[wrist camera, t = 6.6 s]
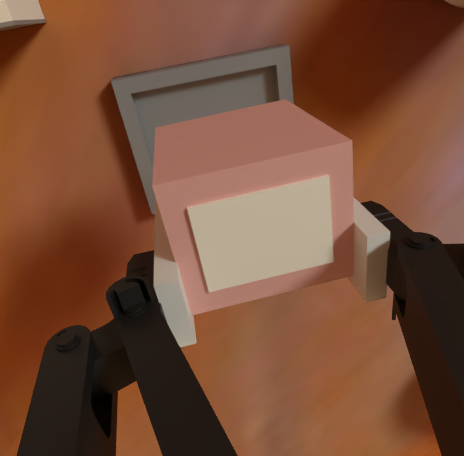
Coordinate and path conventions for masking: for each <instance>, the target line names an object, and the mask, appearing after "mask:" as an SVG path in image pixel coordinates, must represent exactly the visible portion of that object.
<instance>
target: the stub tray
mask: <svg viewBox="0 0 464 456" xmlns="http://www.w3.org/2000/svg"><path fill="white" fill-rule="evenodd" d="M111 83H112V86H113V90H114V93H115V96H116V100H117V103H118V106H119V109H120V113H121V116H122V119H123V122H124V126H125V129H126V132H127V135H128V139H129V142H130V145H131V148H132V152H133V155H134V158H135V161H136V165H137V168H138V171H139V174H140V178H141V181H142V184H143V187H144V191H145V194H146V197H147V200H148V204H149V207H150V210H151V213H152V214H155V193H154V190H153V187H152V181H153V164H154V146H155V128H156V127H160V126H164V125H169V124H174V123H178V122H183V121H187V120H192V119H197V118H201V117H206V116H210V115H215V114H220V113H224V112H229V111H233V110H238V109H243V108H247V107H252V106H256V105H261V104H266V103H270V102H275V101H279V100H284V99H286V100H287V101H289V102H291V103H292V104H294V100H293V87H292V73H291V60H290V47H289V46H288V45H284V44H281V45H276V46H271V47H266V48H261V49H256V50H251V51H246V52H241V53H236V54H231V55H226V56H221V57H216V58H210V59H205V60H200V61H195V62H190V63H185V64H180V65H175V66H170V67H165V68H160V69H155V70H150V71H145V72H139V73H134V74H129V75H124V76H119V77H114V78H113V79H112V80H111Z"/></svg>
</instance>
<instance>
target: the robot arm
mask: <svg viewBox="0 0 464 456" xmlns="http://www.w3.org/2000/svg"><path fill="white" fill-rule="evenodd" d="M353 208H354V275H353V276H349V277H348V279H349V280H350V281H351V283H352V284H353V286H354V287H355V288H356V290H357V291H358V293H359V294H360V295H361V297H362V298H363V300H364V301H365V302H369V301H374V300H378V299H382V298H386V291H387V285H388V286H389V287H390V288H391V289H392V291H393V292H394V296H393V308H392V320H395V319H396V314H397V317H398V320H399V323H400V326H401V329H402V332H403V336H404V339H405V342H406V345H407V348H408V351H409V354H410V358H411V361H412V364H413V367H414V370H415V373H416V376H417V379H418V383H419V386H420V389H421V392H422V395H423V398H424V401H425V405H426V408H427V411H428V414H429V417H430V420H431V423H432V427H433V430H434V433H435V436H436V439H437V442H438V445H439V449H440V452H441V455H442V456H464V244H442V242H441V241H440V240H439V239H438V238H437V237H435V236H433V235H431V234H427V233H422V232H413V231H412V230H411V229H409V228H408V227H407V226H406V225H405V224H404V223H402V222H401V221H400V220H399V219H398V218H396V217H395V216H394V215H393V214H392V213H390V211H388V210H387V209H386V208H385V207H384V206H383V205H380V204H378V203H375V202H373V201H368V202H363V203H359V202H358V201H357V200H356V199H355V198H354V197H353ZM106 299H107V302H108V304H109V306H110V309H111V311H112V313H113V316H114V319H113V320H112V321H110V322H109V323H107V324H106V325H104V326H102V327H100V328H98V329H96V330H93V331H91V332H90V330H89V329H88V328H87V327H85V326H81V325H76V326H70V327H67V328H65V329H63V330H61V331H59V332H58V333H56V334H55V335H54V336H53V337H52V338H51V339H50V340H49V341H48V342H47V344H46V346H45V349H44V352H43V356H42V360H41V364H40V368H39V372H38V376H37V379H36V383H35V387H34V391H33V395H32V399H31V403H30V406H29V410H28V414H27V418H26V422H25V426H24V430H23V433H22V437H21V441H20V445H19V449H18V453H17V456H116V430H117V399H118V390H120V389H122V388H124V387H126V386H128V385H130V384H131V383H133V382H135V381H137V384H138V387H139V389H140V392H141V395H142V398H143V401H144V404H145V407H146V409H147V412H148V415H149V418H150V421H151V424H152V427H153V429H154V432H155V435H156V438H157V441H158V444H159V446H160V449H161V452H162V455H163V456H237V454H236V452H235V450H234V448H233V446H232V444H231V443H230V441H229V439H228V437H227V435H226V433H225V431H224V429H223V427H222V426H221V424H220V422H219V420H218V418H217V416H216V414H215V412H214V410H213V409H212V407H211V405H210V403H209V401H208V399H207V397H206V395H205V394H204V392H203V390H202V388H201V386H200V384H199V382H198V380H197V378H196V377H195V375H194V373H193V371H192V369H191V367H190V365H189V363H188V361H187V360H186V358H185V356H184V354H183V352H182V350H181V348H180V347H183V346H188V345H192V344H196V334H195V326H194V317H193V315H192V314H191V310H190V307H189V303H188V300H187V296H186V293H185V289H184V286H183V282H182V278H181V275H180V271H179V268H178V264H177V262H176V263H175V259H174V256H173V253H172V250H171V246H170V243H169V240H168V236H167V233H166V230H165V226H164V223H163V220H162V217H161V213H160V210H159V207H158V203H157V200H156V197H155V235H154V250H153V251H148V252H144V253H140V254H135V255H133V257H132V258H131V260H130V261H129V262H128V265H127V274H126V277H125V278H122V279H120V280H118V281H117V282H115V283H114V284H113V285H112V286H110V287H109V289H108V291H107V292H106Z"/></svg>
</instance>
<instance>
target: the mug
mask: <svg viewBox="0 0 464 456" xmlns="http://www.w3.org/2000/svg"><path fill="white" fill-rule="evenodd" d="M444 1H446V2H447V3H449V4H451V5H454V6H457V7H461V8H464V0H444Z"/></svg>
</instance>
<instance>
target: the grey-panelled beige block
mask: <svg viewBox="0 0 464 456" xmlns="http://www.w3.org/2000/svg"><path fill="white" fill-rule="evenodd" d="M41 23H46V20H45V19H44V16H43V13H42V10H41V7H40V5H39V2H38V0H0V31H4V30H9V29H14V28H20V27H25V26H30V25H36V24H41Z"/></svg>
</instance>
